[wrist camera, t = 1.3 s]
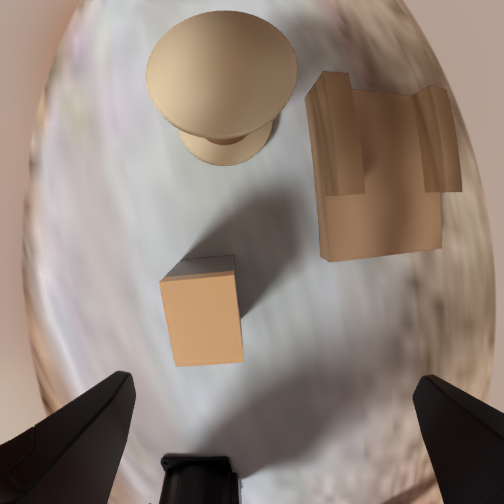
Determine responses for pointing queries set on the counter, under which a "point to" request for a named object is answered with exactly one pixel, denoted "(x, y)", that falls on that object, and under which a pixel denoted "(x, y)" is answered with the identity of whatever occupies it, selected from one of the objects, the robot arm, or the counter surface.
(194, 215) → the counter surface
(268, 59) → the door knob
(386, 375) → the counter surface
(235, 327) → the block
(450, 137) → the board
